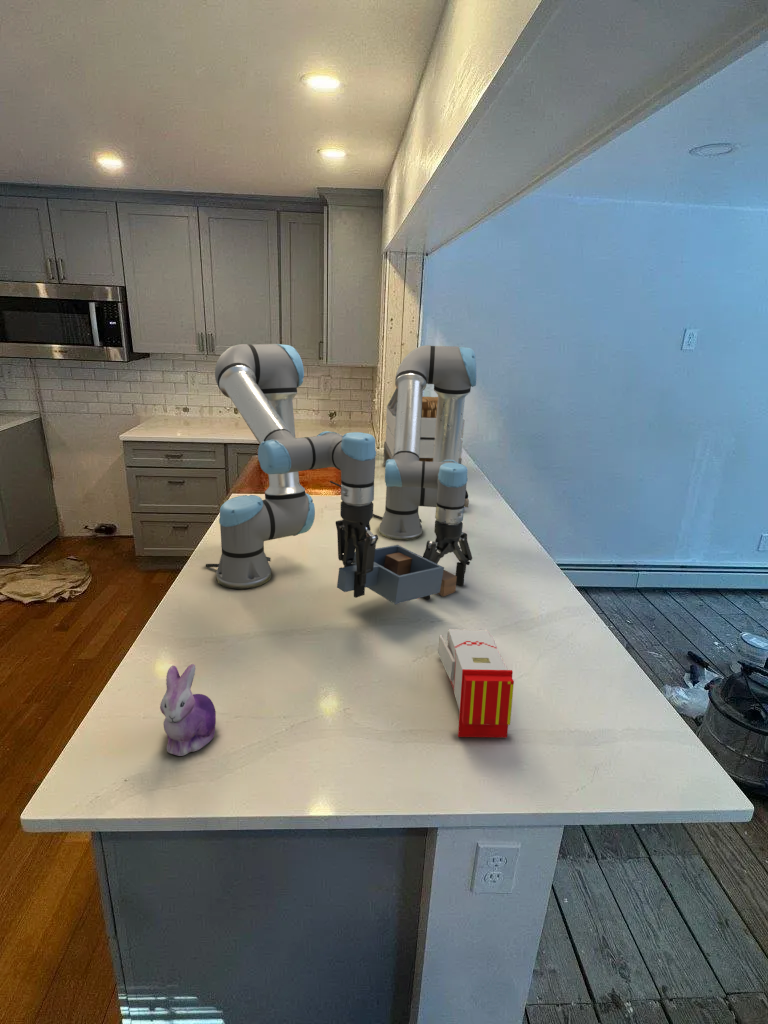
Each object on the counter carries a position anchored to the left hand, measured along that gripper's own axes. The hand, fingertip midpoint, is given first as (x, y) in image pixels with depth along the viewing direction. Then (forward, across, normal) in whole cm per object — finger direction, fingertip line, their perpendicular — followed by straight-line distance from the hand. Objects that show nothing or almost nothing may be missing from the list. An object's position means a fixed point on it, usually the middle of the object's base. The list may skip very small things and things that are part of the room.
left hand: (354, 592), depth 138 cm
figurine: (+10, +13, -47) cm, 50 cm away
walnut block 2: (+9, 0, +32) cm, 33 cm away
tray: (+1, 0, +8) cm, 8 cm away
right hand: (+9, 0, +32) cm, 33 cm away
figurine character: (+10, -47, +90) cm, 102 cm away
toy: (+9, +35, +4) cm, 36 cm away
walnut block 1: (+2, -4, +17) cm, 18 cm away
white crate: (+10, -92, +112) cm, 145 cm away
